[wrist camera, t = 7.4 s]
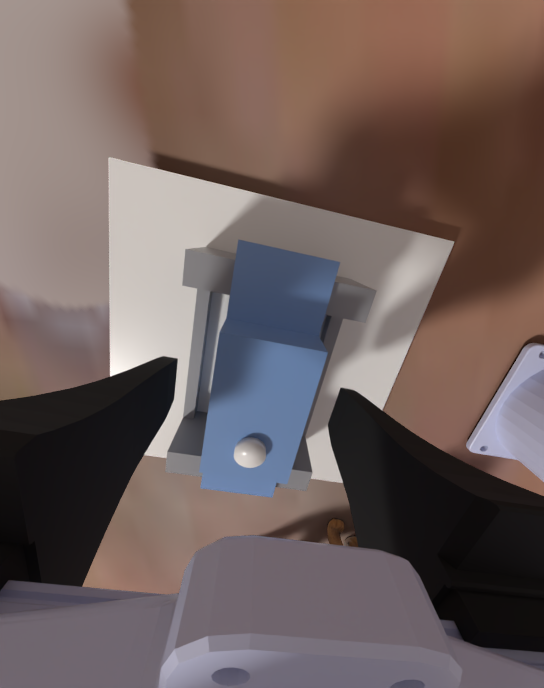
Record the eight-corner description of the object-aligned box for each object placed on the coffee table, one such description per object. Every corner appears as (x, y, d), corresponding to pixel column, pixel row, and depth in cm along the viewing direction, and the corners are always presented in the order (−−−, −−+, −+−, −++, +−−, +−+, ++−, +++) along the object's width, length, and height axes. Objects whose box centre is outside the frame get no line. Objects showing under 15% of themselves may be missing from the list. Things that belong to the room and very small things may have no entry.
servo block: (321, 256, 12) (357, 267, 8) (270, 448, 17) (273, 536, 12) (245, 239, 12) (231, 239, 7) (213, 439, 16) (190, 527, 11)
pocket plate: (444, 241, 13) (517, 242, 10) (347, 474, 19) (368, 534, 15) (118, 162, 12) (46, 123, 8) (117, 441, 18) (74, 499, 14)
